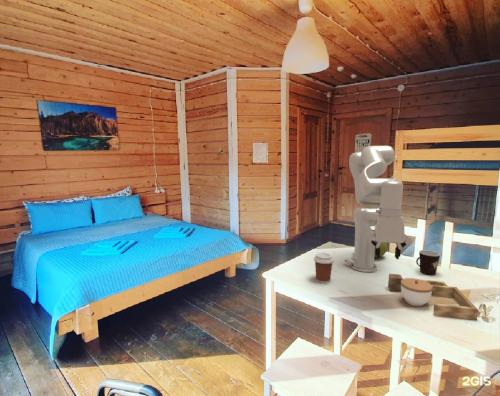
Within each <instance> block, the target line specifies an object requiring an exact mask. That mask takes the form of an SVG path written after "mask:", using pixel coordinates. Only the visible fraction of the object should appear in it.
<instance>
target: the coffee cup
mask: <svg viewBox="0 0 500 396" xmlns="http://www.w3.org/2000/svg"><path fill="white" fill-rule="evenodd" d="M313 261H314V265H315V280H316V281H317V282H318V283H322V284H326V283H330V282H331V276H332V270H333V263H334V262H335V258H333V256H332V254H331V253H328V252H317V253H316V254H315V256H314V257H313Z"/></svg>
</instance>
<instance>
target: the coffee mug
mask: <svg viewBox="0 0 500 396" xmlns="http://www.w3.org/2000/svg"><path fill="white" fill-rule="evenodd" d="M418 252H419V253H418V254H419V256H418V257H417V258H416V261H415V263H416V265H417V266H418V267H419V271H420V273H421V274H423V275H426V276H435V275H436V274H437V271H438V266H439V261H440V257H441V254H440V253H439V252H437V251H435V250H429V249H421V250H419V251H418ZM418 262H419V263H418Z"/></svg>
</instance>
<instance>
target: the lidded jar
mask: <svg viewBox="0 0 500 396" xmlns="http://www.w3.org/2000/svg"><path fill="white" fill-rule="evenodd" d="M423 280H424V279H419V278H415V277H405V278H403V279H402V280H401V292H400V293H401V296H402V297H403V299H404V300H405V302H406V303H408V304H409V305H411V306H414V307H423V306H424V305H426V304H427V303H428V302H429V301H430V300H431V297H432V295H431V294H432V288H433V287H432V285H431V284H430V283H428V282H426V281H423Z"/></svg>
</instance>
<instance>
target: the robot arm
mask: <svg viewBox="0 0 500 396" xmlns="http://www.w3.org/2000/svg"><path fill="white" fill-rule="evenodd" d="M395 157H396V153H395V150H394V148H393V147H392V146H390V145H369V146H366V147H364V148H362V150H361V151H355V152H352V153H351V154H350V156H349V159H348V165H349V170H350V173H351V175H352V178H353V182H354V192H355V200H356V202H357V204H358V205H361V206H359V207H357V208H355V210H354V211H353V212H354V213H353V219H354V228H355V229H354V231H355V232H354V252H353V254H354V255H353V256H352V257H351V258H348V257H347V258H345V257H344V260H343V261H344V263H345V262H346V263H347V264H350V268H351V269H353V270H355V271H357V272H361V273H373V272H376V271H377V269H378V266H377V265H376V264H375V257H374V253H375V255H377V259H380V258H381V257H380V247H379V246H380V244H381V242H383V243H387V244H395V245H396V246H395V249H394V258H395V259H396V260H397V261H398V260H400V259H399V258H401V254H402V253H401V251H402V249H404V247H406V246H407V245H408V244H409V243H411V241H412V240H411V238H410V237H408V236H407V234H405V219H404V217H403V216H402V206H403V193H404V192H403V191H404V184H403V181H400V180H398V179H397V178H389V177H387V178H386V177H385V178H383V177H379V176H382V175H383V174H384V173H385V172H386V170H387V167H388V166H390V165H391V164H392V163H394V160H395ZM362 205H363V206H362ZM371 227H374V230H373V229H372V228H371ZM375 239H376V242H375Z"/></svg>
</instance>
